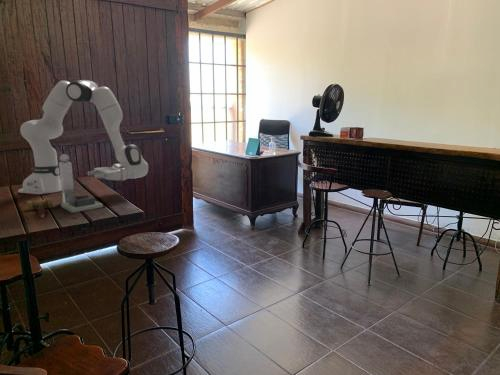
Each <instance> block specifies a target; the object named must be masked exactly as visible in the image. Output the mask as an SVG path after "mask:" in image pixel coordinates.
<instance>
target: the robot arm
mask: <svg viewBox="0 0 500 375" xmlns="http://www.w3.org/2000/svg"><path fill="white" fill-rule="evenodd" d="M73 102H75V103H88V102H91V103H93V105H95V107H96V109H97V112H98V114H99V116H100V118H101V120H102V122H103V126H104V128H105V131H106V134H107V137H108V140H109V142H110V145H111V146H112V151H113V157H114V161H115V163H113V164H112V166H110V167H108V166H103V167H94V168H93V170H90V171H87V175H88V176H93V177H94V178H95V179H105V180H108V181H116V182H117V181H126V180H127V179H138V178H144V177H145V176H147V174H148V172H149V164H148V162H147V161H146V160H145V159H144V157H143V155H142V152H141V149H140V147H138V146H137V145H136V144H134V143H133V144H128V145H125V141H123V138H122V135H121V133H120V127H121V126H120V125H121V123H122V121H123V118H124V115H123V111H122V108H121V105H120V104H119V102H118V99H117V98H116V96H115V94H114V93H113V91H112V90H111V88H109V87H107V86H100V85H99V83H98V82H96V81H94V80H91V79H90V80H89V79H80V80H73V81H68V80H59V82H58V83H56V84H55V85H54V87H53V88H52V89H51V91H50V93H49V94H48V96H47V98H46V99H45V101H44V103H43V105H42V110H43V116H42V118H39V119H32V120H28V121H25V122H23V123H22V124H21V126H20V128H19V130H20V135H21V137H22V138H23V139H25V141H27V142H28V143H29V145H30V147H31V151H32V153H33V159H34V166H33V167H31V168H30V171H32V170H33V171H32V173H31V174H30V175H28V176H27V177H26V178H25V179H24V180H23V181H22V188H20V189H18V193H21V194H29V195H30V194H31V195H43V194H50V193H51V194H52V193H58V192H62V188H61V178H60V168H59V162H58V154H57V150H56V149H55V148H54V147H53V146H52V144H51V143H50V140H54V139H57V138H58V137H59V138H60V136H62V135H63V133H64V127H63V126H64V125H63V120H64V117H65V116H66V114H67V112H68V111H69V109H70V107H71V105H72V104H73Z"/></svg>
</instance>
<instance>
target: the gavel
mask: <svg viewBox="0 0 500 375" xmlns="http://www.w3.org/2000/svg"><path fill="white" fill-rule="evenodd" d="M26 203H27V211H34V210H37V211H38V217H39V218H41V219H44V218H45V217H46V214H47V213H46V210H45V209H52V208H54V206H53V205H54V204H53V199H52V198H51V197H50V198H47V199H39V200H38V199H37V200H27V201H26Z"/></svg>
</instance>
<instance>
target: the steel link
mask: <svg viewBox="0 0 500 375" xmlns="http://www.w3.org/2000/svg"><path fill="white" fill-rule="evenodd" d="M59 160H60V162H58V165H59V176H60V180H61V188H62V190H61V193H62V194H61V195H62V203H68V195H67V192H71V193H73V194H75V187H74V186H75V185H74V174H73V165H72V162H71V161H70V160H71V158H70V155H69V154H66V153H62V154H61V155H59Z"/></svg>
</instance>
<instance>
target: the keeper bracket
mask: <svg viewBox="0 0 500 375" xmlns="http://www.w3.org/2000/svg"><path fill="white" fill-rule="evenodd" d="M67 195H68V203H63V202H62V203H60V207H61V208H63V209H64V210H66V211H68V212H70V213H72V214H73V213H78V212H83V211H89V210H94V209H95V210H96V209H99V208H104V205H103V204H104V203H101V202H100V201H97V200H96V197H94V196H93V197H89V194H82V195H77V194H76V193H74V194H73V193H71V192H67Z"/></svg>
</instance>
